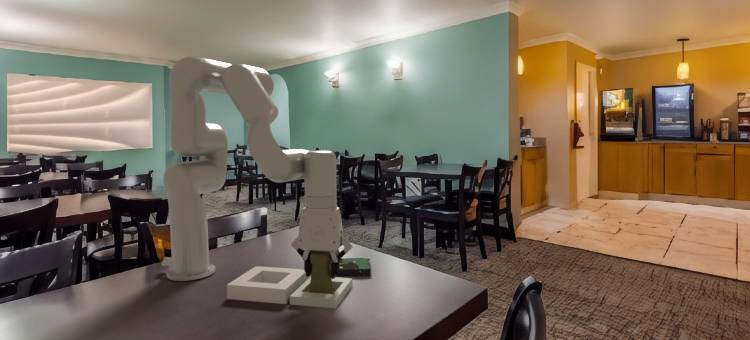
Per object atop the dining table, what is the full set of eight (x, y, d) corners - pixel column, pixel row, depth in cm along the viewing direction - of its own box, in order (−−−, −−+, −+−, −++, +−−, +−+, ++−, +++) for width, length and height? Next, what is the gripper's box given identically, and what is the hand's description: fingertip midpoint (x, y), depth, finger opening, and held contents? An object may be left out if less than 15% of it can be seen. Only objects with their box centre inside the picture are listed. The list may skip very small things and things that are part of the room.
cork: (312, 289, 104) (311, 246, 103) (336, 290, 103) (335, 247, 102) (305, 299, 98) (304, 253, 97) (330, 300, 97) (329, 254, 96)
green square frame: (290, 304, 95) (289, 296, 94) (312, 282, 108) (311, 275, 108) (335, 308, 92) (335, 299, 92) (352, 285, 106) (352, 278, 106)
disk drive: (317, 280, 112) (371, 278, 113) (317, 270, 112) (371, 268, 113) (320, 267, 122) (369, 265, 123) (319, 258, 122) (369, 256, 123)
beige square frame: (227, 299, 98) (226, 284, 98) (256, 278, 112) (256, 266, 111) (290, 304, 95) (289, 289, 94) (312, 282, 108) (311, 269, 108)
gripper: (280, 203, 96) (282, 278, 98) (351, 206, 93) (352, 284, 94) (293, 198, 104) (295, 268, 105) (359, 201, 100) (360, 273, 102)
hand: (321, 275), depth 100 cm, fingers open, 5 cm apart
